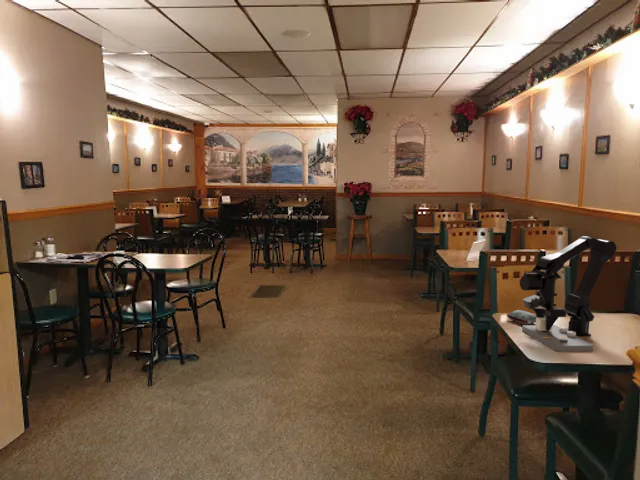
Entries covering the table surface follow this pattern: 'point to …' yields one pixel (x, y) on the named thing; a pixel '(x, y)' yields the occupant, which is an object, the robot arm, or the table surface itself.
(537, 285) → the robot arm
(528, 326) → the console
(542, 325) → the block
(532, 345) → the table surface
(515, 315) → the packaged food
